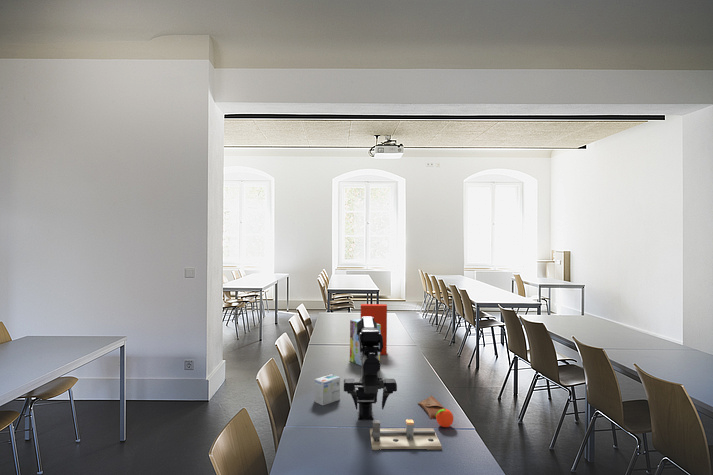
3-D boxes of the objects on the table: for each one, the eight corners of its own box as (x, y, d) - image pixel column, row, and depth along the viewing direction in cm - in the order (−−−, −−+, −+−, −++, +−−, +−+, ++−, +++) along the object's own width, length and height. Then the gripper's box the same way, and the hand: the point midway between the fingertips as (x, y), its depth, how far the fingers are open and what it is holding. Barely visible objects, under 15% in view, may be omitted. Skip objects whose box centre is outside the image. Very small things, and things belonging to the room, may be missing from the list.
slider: (405, 435, 155) (405, 419, 155) (412, 434, 155) (412, 419, 155) (407, 440, 151) (407, 424, 151) (414, 440, 151) (414, 424, 151)
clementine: (440, 432, 161) (440, 413, 161) (430, 424, 167) (430, 407, 167) (457, 428, 164) (457, 410, 164) (446, 421, 170) (446, 404, 170)
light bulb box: (331, 395, 197) (331, 373, 197) (340, 399, 192) (340, 376, 193) (313, 401, 190) (313, 378, 190) (323, 406, 185) (323, 382, 185)
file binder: (360, 351, 277) (360, 303, 277) (386, 351, 277) (386, 304, 277) (360, 354, 269) (360, 305, 269) (386, 355, 268) (387, 306, 269)
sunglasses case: (415, 402, 189) (422, 389, 190) (428, 409, 191) (435, 396, 191) (430, 419, 172) (438, 405, 172) (444, 426, 173) (451, 412, 174)
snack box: (381, 367, 241) (381, 324, 241) (369, 370, 236) (369, 325, 236) (360, 359, 259) (360, 318, 259) (348, 361, 254) (349, 319, 254)
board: (369, 431, 161) (369, 413, 161) (433, 431, 161) (433, 413, 161) (372, 449, 147) (372, 430, 147) (441, 449, 147) (441, 429, 147)
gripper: (343, 372, 138) (343, 418, 138) (399, 372, 139) (398, 418, 139) (343, 362, 149) (343, 405, 149) (395, 362, 150) (394, 405, 150)
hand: (369, 409), depth 146 cm, fingers open, 9 cm apart
